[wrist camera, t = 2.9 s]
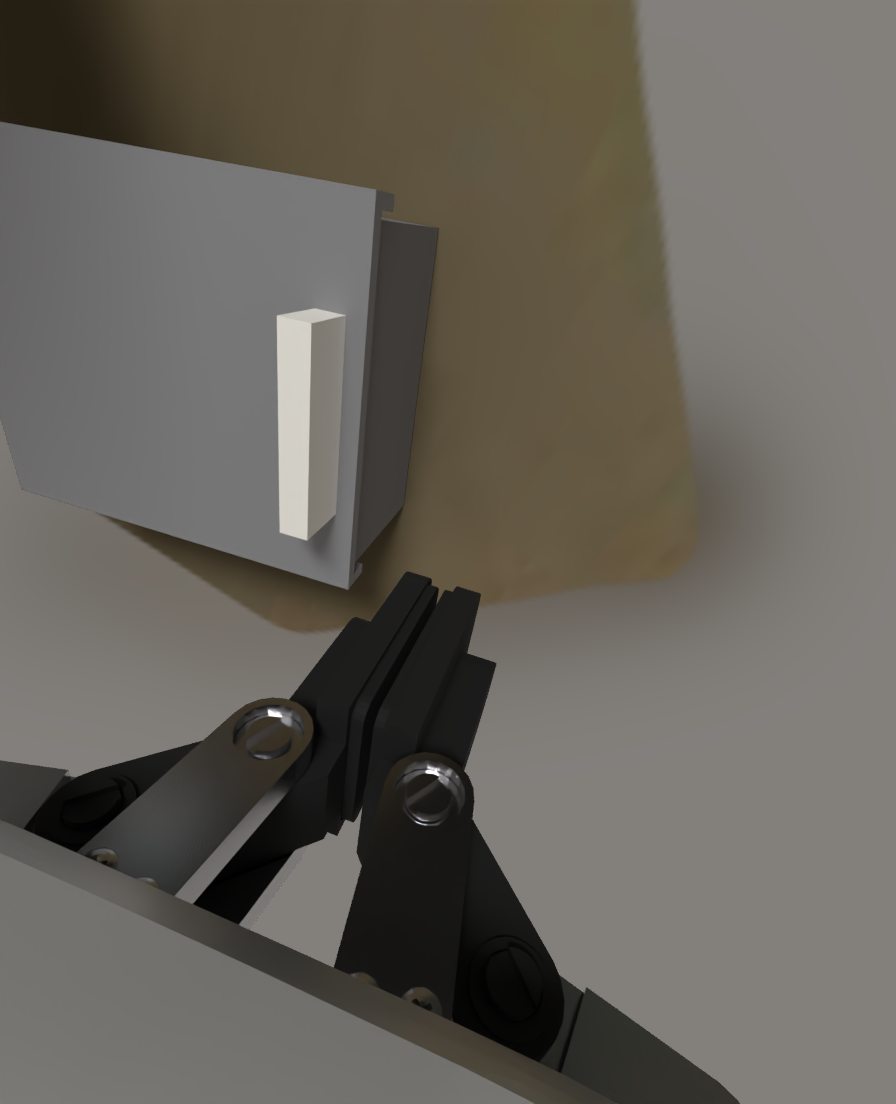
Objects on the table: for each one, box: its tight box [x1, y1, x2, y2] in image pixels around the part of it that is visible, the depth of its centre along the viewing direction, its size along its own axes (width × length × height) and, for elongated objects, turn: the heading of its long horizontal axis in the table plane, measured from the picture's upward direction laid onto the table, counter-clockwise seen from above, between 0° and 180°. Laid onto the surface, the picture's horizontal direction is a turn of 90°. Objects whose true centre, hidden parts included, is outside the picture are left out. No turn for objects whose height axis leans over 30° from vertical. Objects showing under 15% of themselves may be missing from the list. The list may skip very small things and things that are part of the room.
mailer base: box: [355, 217, 439, 562], centre depth 26 cm, size 14×18×7 cm
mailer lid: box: [0, 122, 394, 590], centre depth 22 cm, size 16×18×4 cm
